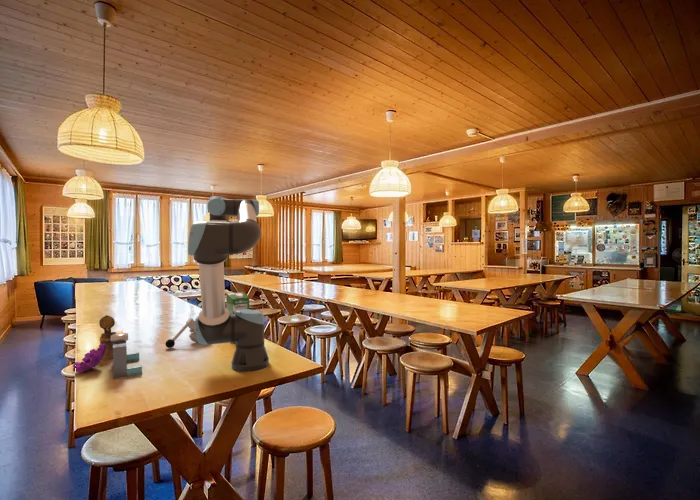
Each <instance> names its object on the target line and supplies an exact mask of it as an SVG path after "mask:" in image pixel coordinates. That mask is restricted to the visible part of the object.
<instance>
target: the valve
mask: <svg viewBox="0 0 700 500" xmlns="http://www.w3.org/2000/svg"><path fill="white" fill-rule="evenodd" d="M186 320H187V319H186ZM185 323H186V324H184V326H183V327H182V328H181V329H180V330H179V331H178V332H177V334H175V336H173V338H171V339H167V340H166V341H165V347H166V348H168V349H171V348H173V347H174V346H175V344H176V342H175V341H177V339H178V338H179V336H181V335H182V334H183V333H184V332H185V330H186V329H187V328H189V332H190V334H189V335H188V337H189V339H190V340H191V341H192V342H194V343H196V344H197V343H198V344H200V343H199V342H198V340H197V337H196V332H195V331H196V330H195V319H193V318H191V317H190V318H188V320H187V321H185Z"/></svg>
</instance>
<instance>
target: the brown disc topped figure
mask: <svg viewBox="0 0 700 500" xmlns="http://www.w3.org/2000/svg"><path fill="white" fill-rule="evenodd" d="M115 324H116V322H115V319H114V317H113V316H111V315H104V316H103V317H101V318H100V320H99V327H100V328H101V329H103V333H101V334H100V337H99V342H100V343H99V345H101V344H106V351H105V354H104V356H103V358H102V360H101V361H109V360H113V343H112V342H111V335H113V334H116V331H112V328H113V327H114V326H115Z"/></svg>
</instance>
